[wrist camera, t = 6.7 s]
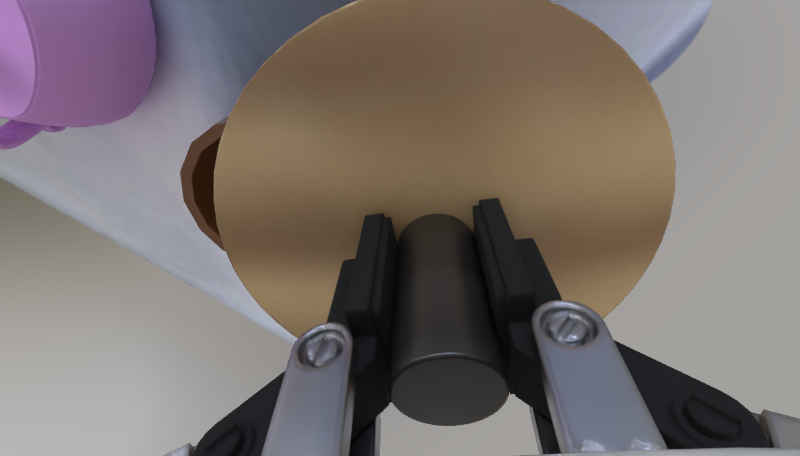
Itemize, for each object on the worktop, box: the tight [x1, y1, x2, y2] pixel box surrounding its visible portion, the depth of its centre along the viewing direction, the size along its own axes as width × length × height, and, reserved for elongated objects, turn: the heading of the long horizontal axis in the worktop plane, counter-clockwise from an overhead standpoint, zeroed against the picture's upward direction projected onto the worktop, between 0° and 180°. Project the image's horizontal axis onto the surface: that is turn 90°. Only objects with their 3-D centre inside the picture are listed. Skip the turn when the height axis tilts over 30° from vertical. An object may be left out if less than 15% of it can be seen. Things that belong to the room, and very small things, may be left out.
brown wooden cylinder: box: [180, 115, 229, 252], centre depth 31 cm, size 13×13×8 cm
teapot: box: [0, 0, 156, 149], centre depth 23 cm, size 20×13×12 cm, turn 154°
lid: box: [214, 0, 675, 426], centre depth 10 cm, size 14×14×6 cm
